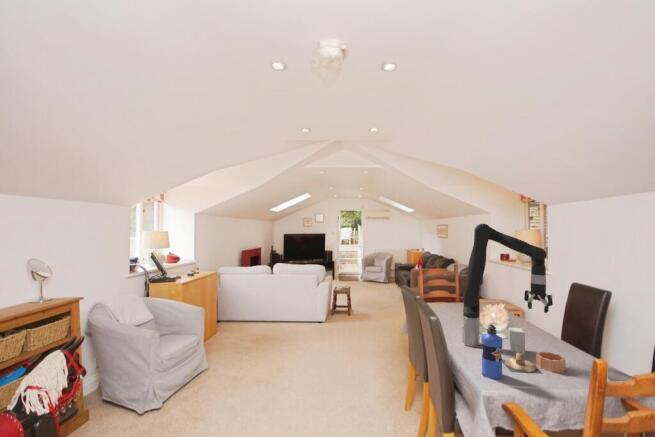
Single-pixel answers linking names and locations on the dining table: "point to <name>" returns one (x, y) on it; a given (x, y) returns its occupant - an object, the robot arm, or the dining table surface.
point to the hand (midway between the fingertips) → (537, 310)
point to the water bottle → (491, 354)
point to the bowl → (550, 362)
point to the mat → (522, 372)
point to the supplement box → (516, 340)
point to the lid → (520, 364)
